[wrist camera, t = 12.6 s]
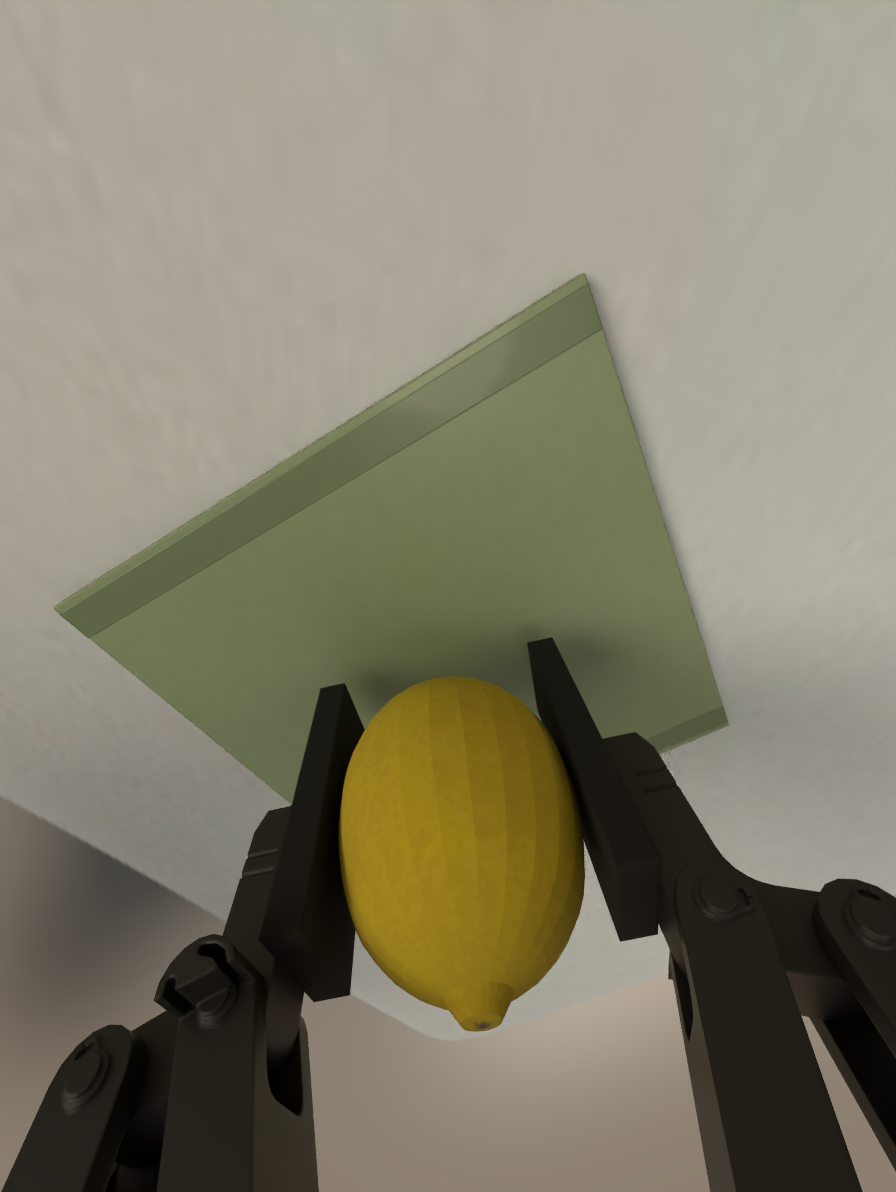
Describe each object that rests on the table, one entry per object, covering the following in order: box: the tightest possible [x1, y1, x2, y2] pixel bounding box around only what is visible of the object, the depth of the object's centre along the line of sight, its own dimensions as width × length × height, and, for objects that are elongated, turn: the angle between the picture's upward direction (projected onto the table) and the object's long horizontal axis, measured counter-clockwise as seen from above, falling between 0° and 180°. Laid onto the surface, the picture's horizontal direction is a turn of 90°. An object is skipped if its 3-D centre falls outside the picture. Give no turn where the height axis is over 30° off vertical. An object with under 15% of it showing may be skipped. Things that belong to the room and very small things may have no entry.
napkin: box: [53, 273, 729, 804], centre depth 15 cm, size 16×16×1 cm
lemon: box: [339, 676, 585, 1031], centre depth 11 cm, size 6×6×8 cm
